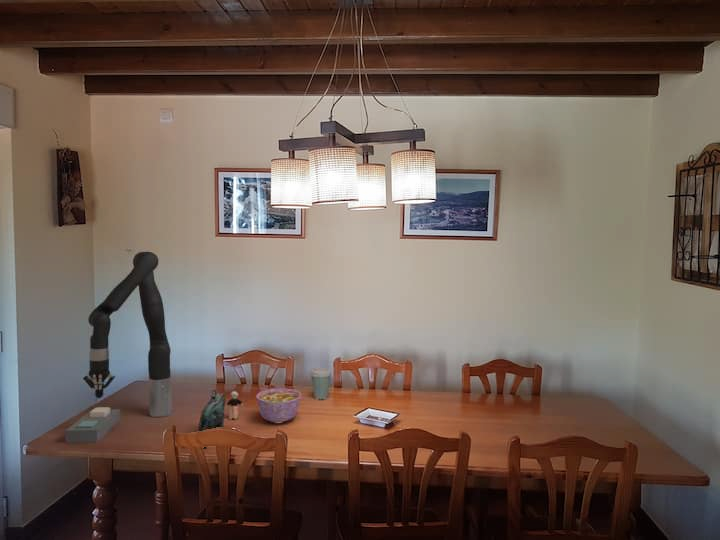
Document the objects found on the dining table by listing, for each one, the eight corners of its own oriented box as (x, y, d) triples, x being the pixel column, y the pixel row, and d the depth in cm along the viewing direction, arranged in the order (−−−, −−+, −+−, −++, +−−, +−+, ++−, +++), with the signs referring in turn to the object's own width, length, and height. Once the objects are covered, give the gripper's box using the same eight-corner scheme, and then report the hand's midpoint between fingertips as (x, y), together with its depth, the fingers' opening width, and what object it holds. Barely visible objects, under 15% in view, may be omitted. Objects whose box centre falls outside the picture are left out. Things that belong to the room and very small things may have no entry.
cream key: (110, 414, 228) (110, 407, 228) (104, 419, 222) (104, 412, 222) (96, 414, 227) (95, 407, 227) (90, 419, 221) (89, 412, 221)
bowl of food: (299, 411, 247) (299, 387, 246) (302, 427, 228) (302, 401, 227) (256, 413, 244) (256, 389, 243) (255, 429, 224) (255, 403, 223)
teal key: (98, 427, 216) (98, 420, 216) (92, 433, 210) (92, 426, 210) (83, 427, 216) (83, 420, 215) (77, 433, 210) (76, 426, 209)
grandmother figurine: (227, 421, 233) (227, 393, 232) (225, 418, 236) (225, 391, 235) (244, 418, 236) (244, 391, 235) (241, 416, 240) (241, 389, 239)
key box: (120, 420, 231) (119, 409, 231) (97, 442, 207) (96, 430, 207) (92, 420, 230) (91, 409, 230) (65, 442, 207) (65, 430, 206)
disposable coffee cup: (335, 397, 269) (335, 369, 268) (322, 403, 260) (322, 373, 259) (318, 393, 274) (318, 366, 273) (305, 399, 265) (306, 370, 264)
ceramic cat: (214, 429, 223) (214, 384, 222) (229, 430, 223) (229, 384, 221) (195, 448, 203) (195, 398, 202) (211, 449, 203) (211, 399, 201)
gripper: (118, 356, 227) (118, 395, 228) (87, 355, 226) (87, 394, 227) (111, 360, 220) (111, 400, 221) (79, 359, 219) (79, 400, 220)
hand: (99, 397), depth 224 cm, fingers closed
